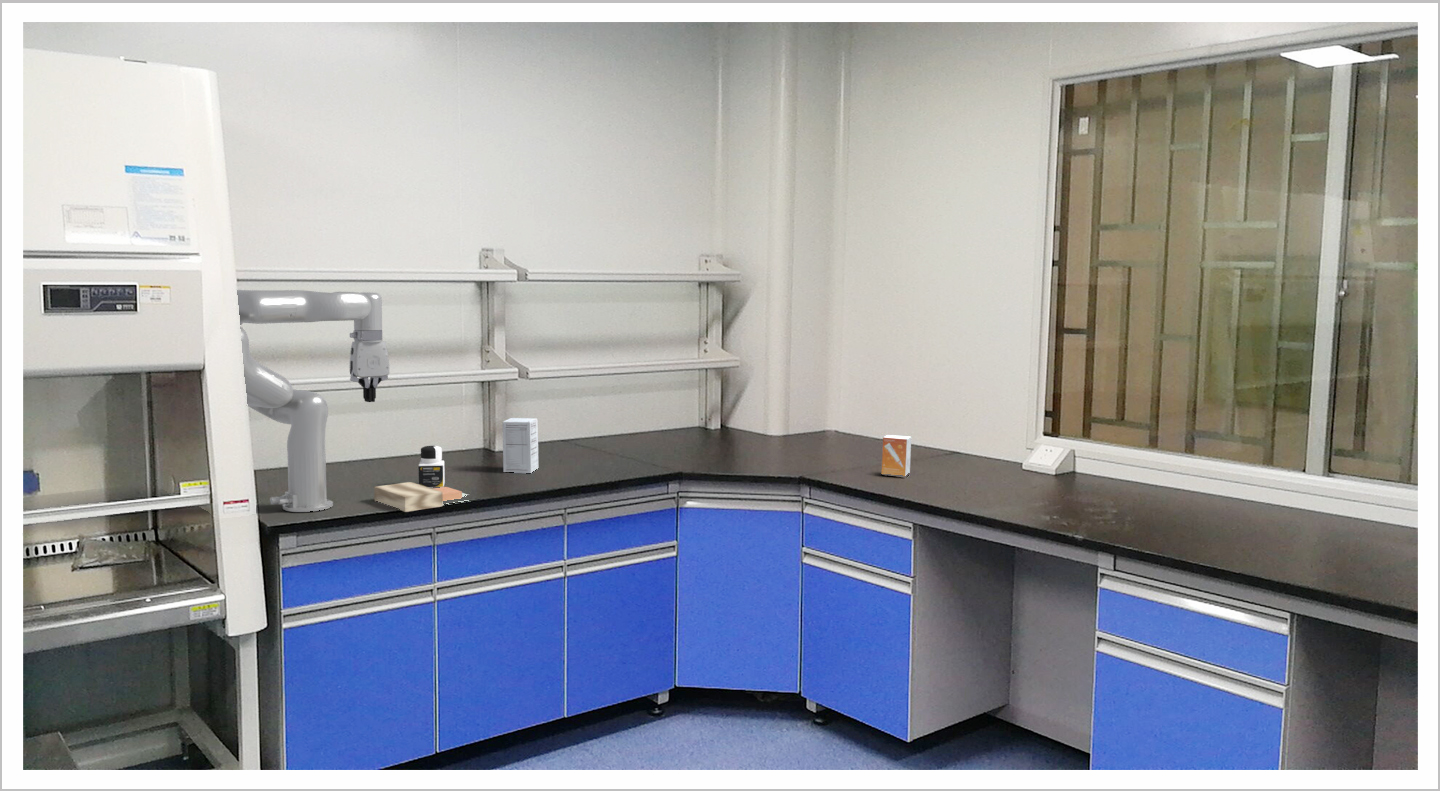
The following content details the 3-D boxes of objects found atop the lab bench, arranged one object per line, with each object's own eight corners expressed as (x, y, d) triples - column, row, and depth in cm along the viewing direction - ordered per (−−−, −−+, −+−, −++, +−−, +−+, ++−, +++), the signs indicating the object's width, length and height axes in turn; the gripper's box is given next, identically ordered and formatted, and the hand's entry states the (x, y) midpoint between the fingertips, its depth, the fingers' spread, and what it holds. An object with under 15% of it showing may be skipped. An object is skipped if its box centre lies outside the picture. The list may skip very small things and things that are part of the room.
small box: (881, 476, 346) (882, 436, 345) (885, 473, 352) (887, 434, 350) (905, 478, 343) (907, 438, 341) (910, 475, 349) (911, 436, 347)
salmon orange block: (442, 494, 297) (442, 501, 297) (461, 491, 301) (462, 498, 301) (427, 489, 303) (427, 496, 303) (446, 486, 307) (446, 493, 307)
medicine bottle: (418, 488, 315) (417, 448, 314) (420, 483, 322) (419, 444, 321) (443, 488, 317) (442, 448, 315) (444, 483, 324) (444, 444, 322)
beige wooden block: (405, 511, 285) (405, 497, 284) (374, 500, 298) (374, 486, 297) (442, 506, 292) (442, 491, 292) (410, 495, 305) (410, 481, 305)
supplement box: (539, 469, 350) (539, 418, 348) (531, 474, 341) (531, 421, 339) (510, 468, 351) (510, 417, 349) (502, 473, 342) (502, 421, 340)
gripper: (348, 338, 291) (350, 404, 293) (399, 336, 302) (400, 401, 304) (336, 336, 297) (338, 402, 299) (387, 335, 307) (388, 398, 309)
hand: (369, 401), depth 301 cm, fingers closed
